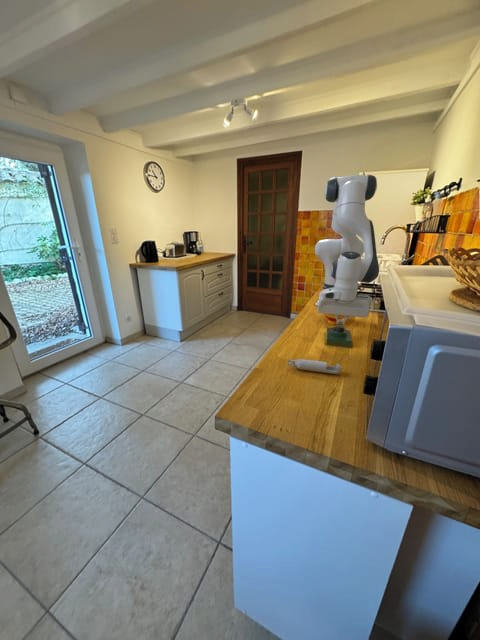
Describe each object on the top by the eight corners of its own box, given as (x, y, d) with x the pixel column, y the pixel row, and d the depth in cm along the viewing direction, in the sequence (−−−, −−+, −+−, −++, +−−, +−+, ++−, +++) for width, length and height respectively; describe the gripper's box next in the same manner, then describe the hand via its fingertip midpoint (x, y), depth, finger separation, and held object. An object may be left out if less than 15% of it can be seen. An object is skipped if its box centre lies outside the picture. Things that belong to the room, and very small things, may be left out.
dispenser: (325, 333, 118) (327, 323, 116) (349, 335, 115) (350, 325, 113) (325, 344, 107) (327, 334, 105) (351, 347, 104) (353, 337, 103)
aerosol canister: (339, 370, 89) (342, 353, 87) (341, 377, 85) (344, 360, 82) (288, 363, 93) (289, 347, 91) (287, 370, 89) (288, 354, 87)
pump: (334, 328, 112) (335, 324, 111) (343, 329, 110) (344, 325, 110) (335, 331, 108) (335, 327, 108) (343, 332, 107) (344, 328, 107)
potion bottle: (340, 318, 134) (344, 291, 129) (345, 326, 125) (350, 297, 119) (319, 318, 135) (323, 291, 130) (323, 325, 126) (327, 296, 120)
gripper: (371, 293, 103) (365, 324, 108) (319, 289, 109) (316, 319, 114) (374, 297, 98) (367, 330, 103) (319, 293, 103) (315, 324, 109)
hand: (340, 324), depth 109 cm, fingers closed
